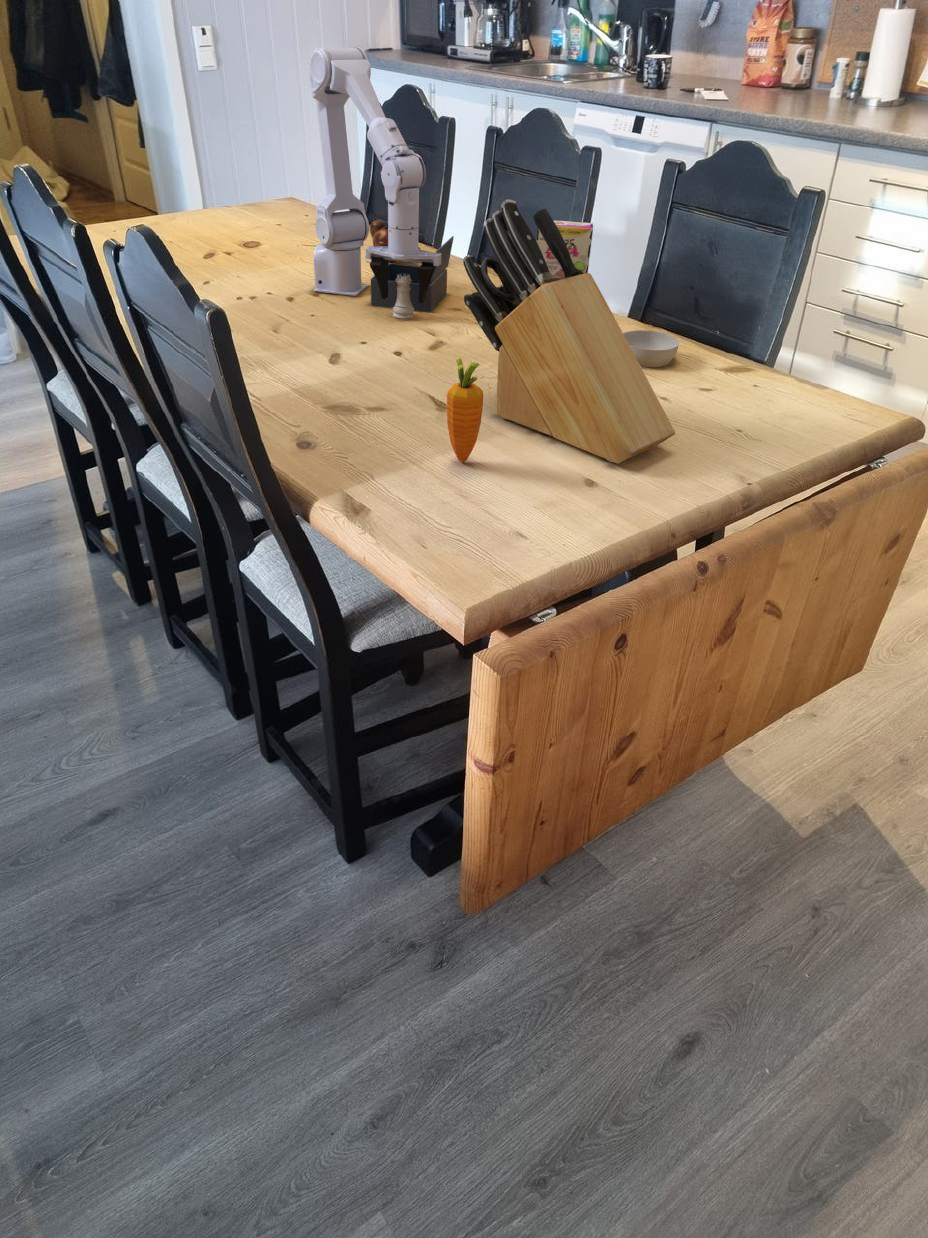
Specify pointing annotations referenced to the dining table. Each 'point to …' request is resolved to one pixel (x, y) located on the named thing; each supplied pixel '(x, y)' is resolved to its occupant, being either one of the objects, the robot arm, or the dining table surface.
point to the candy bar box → (569, 246)
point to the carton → (433, 295)
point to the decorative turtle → (380, 234)
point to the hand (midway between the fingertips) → (403, 299)
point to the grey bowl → (652, 347)
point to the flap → (443, 258)
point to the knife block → (560, 345)
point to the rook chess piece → (403, 299)
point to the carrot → (464, 412)
